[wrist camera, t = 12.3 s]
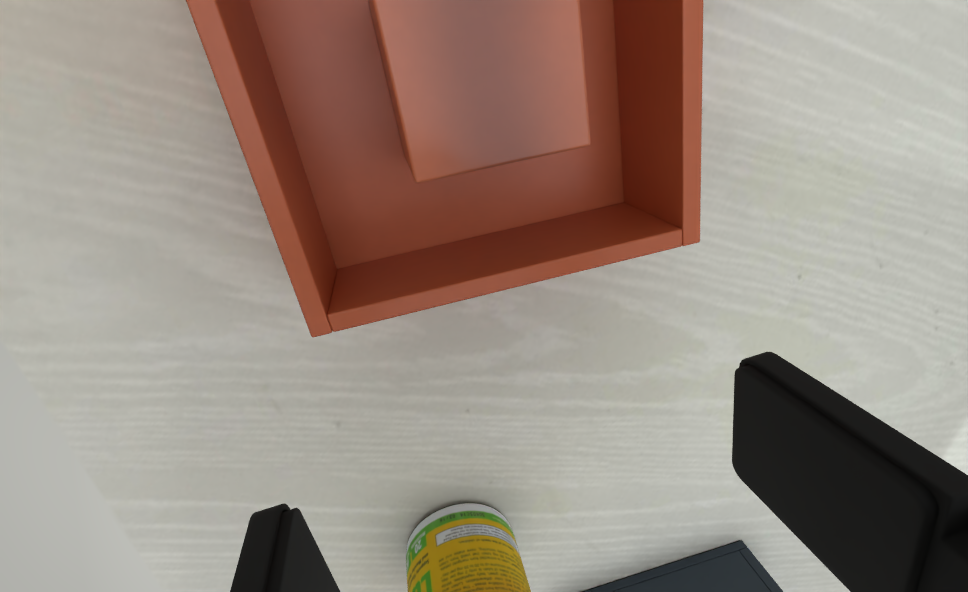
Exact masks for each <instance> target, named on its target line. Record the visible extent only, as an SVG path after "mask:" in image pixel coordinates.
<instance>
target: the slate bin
mask: <svg viewBox="0 0 968 592" xmlns="http://www.w3.org/2000/svg"><path fill="white" fill-rule="evenodd" d="M584 592H783V591H782V589H781V588H780V587H779V586H778V585H777V583H776V582H775V581H774V580H773V578H772V577H771V576H770V575H769V573H768V572H767V571H766V570H765V569H764V567H763V566H762V565H761V564H760V562H759V561H758V560H757V559H756V557H755V556H754V555H753V554H752V552H751V551H750V550H749V549H748V548H747V546H746V545H745V544H744V542H743V541H742V540H741V541H738V542H735V543H732V544H729V545H726V546H723V547H720V548H717V549H713V550H710V551H707V552H704V553H701V554H698V555H695V556H692V557H689V558H686V559H683V560H680V561H677V562H673V563H670V564H667V565H664V566H661V567H658V568H655V569H652V570H649V571H646V572H643V573H640V574H637V575H633V576H630V577H627V578H624V579H621V580H618V581H615V582H612V583H609V584H606V585H603V586H600V587H597V588H593V589H590V590H587V591H584Z"/></svg>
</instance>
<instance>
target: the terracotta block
mask: <svg viewBox="0 0 968 592" xmlns="http://www.w3.org/2000/svg"><path fill="white" fill-rule="evenodd" d="M368 5H369V9H370V14H371V18H372V22H373V26H374V30H375V35H376V39H377V43H378V47H379V52H380V56H381V60H382V64H383V68H384V73H385V77H386V81H387V85H388V89H389V94H390V98H391V102H392V106H393V110H394V115H395V119H396V123H397V127H398V132H399V136H400V140H401V144H402V148H403V153H404V157H405V159H406V161H407V164H408V166H409V169H410V171H411V174H412V176H413V178H414V181H415V182H416V183H421V182H426V181H430V180H435V179H440V178H444V177H449V176H454V175H458V174H463V173H467V172H472V171H477V170H481V169H486V168H491V167H495V166H500V165H504V164H509V163H514V162H518V161H523V160H527V159H532V158H537V157H541V156H546V155H551V154H555V153H560V152H564V151H569V150H574V149H578V148H583V147H587V146H589V145H590V130H589V117H588V104H587V92H586V79H585V66H584V54H583V41H582V28H581V16H580V3H579V0H368Z"/></svg>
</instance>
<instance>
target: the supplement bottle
mask: <svg viewBox="0 0 968 592" xmlns="http://www.w3.org/2000/svg"><path fill="white" fill-rule="evenodd" d="M406 567H407V584H408V592H531V590H530V587H529V584H528V580H527V577H526V574H525V571H524V567H523V564H522V561H521V557H520V554H519V551H518V547H517V544H516V541H515V537H514V535H513V532H512V529H511V527H510V524H509V523H508V521H507V520H506V518H505V517H504V516H503V515H502V514H501V513H499V512H498V511H497V510H495V509H493V508H491V507H489V506H486V505H482V504H475V503H465V504H457V505H453V506H449V507H446V508H443V509H441V510H439V511H436V512H435V513H433V514H431V515H430V516H428V517H427V518H425V519H424V520H423V521H422V522H421V523H420V524H419V525H418V526H417V527H416V528H415V529H414V531H413V532H412V534H411V536H410V538H409V541H408V544H407V549H406Z"/></svg>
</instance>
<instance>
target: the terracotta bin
mask: <svg viewBox="0 0 968 592" xmlns="http://www.w3.org/2000/svg"><path fill="white" fill-rule="evenodd" d="M186 2H187V4H188V7H189V10H190V12H191V15H192V18H193V20H194V23H195V26H196V28H197V31H198V34H199V36H200V39H201V42H202V45H203V47H204V50H205V53H206V55H207V58H208V61H209V63H210V66H211V69H212V71H213V74H214V77H215V79H216V82H217V85H218V87H219V90H220V93H221V95H222V98H223V101H224V103H225V106H226V109H227V111H228V114H229V117H230V120H231V122H232V125H233V128H234V130H235V133H236V136H237V138H238V141H239V144H240V146H241V149H242V152H243V154H244V157H245V160H246V162H247V165H248V168H249V170H250V173H251V176H252V178H253V181H254V184H255V186H256V189H257V192H258V194H259V197H260V200H261V203H262V205H263V208H264V211H265V213H266V216H267V219H268V221H269V224H270V227H271V229H272V232H273V235H274V237H275V240H276V243H277V245H278V248H279V251H280V253H281V256H282V259H283V261H284V264H285V267H286V269H287V272H288V275H289V278H290V280H291V283H292V286H293V288H294V291H295V294H296V296H297V299H298V302H299V304H300V307H301V310H302V312H303V315H304V318H305V320H306V323H307V326H308V328H309V331H310V334H311V336H312V337H316V336H321V335H325V334H329V333H331V332H332V330H333V332H336V331H340V330H344V329H348V328H352V327H356V326H360V325H364V324H368V323H372V322H376V321H380V320H384V319H388V318H392V317H396V316H401V315H405V314H409V313H413V312H417V311H421V310H425V309H429V308H433V307H437V306H441V305H445V304H449V303H453V302H457V301H461V300H465V299H470V298H474V297H478V296H482V295H486V294H490V293H494V292H498V291H502V290H506V289H510V288H514V287H518V286H522V285H526V284H530V283H534V282H538V281H543V280H547V279H551V278H555V277H559V276H563V275H567V274H571V273H575V272H579V271H583V270H587V269H591V268H595V267H599V266H603V265H607V264H611V263H616V262H620V261H624V260H628V259H632V258H636V257H640V256H644V255H648V254H652V253H656V252H660V251H664V250H668V249H672V248H676V247H680V246H686V245H690V244H694V243H698V242H700V193H701V122H702V50H703V0H579V3H580V16H581V28H582V41H583V54H584V66H585V79H586V92H587V104H588V117H589V130H590V145H589V146H587V147H583V148H578V149H574V150H569V151H564V152H560V153H555V154H551V155H546V156H541V157H537V158H532V159H527V160H523V161H518V162H514V163H509V164H504V165H500V166H495V167H491V168H486V169H481V170H477V171H472V172H467V173H463V174H458V175H454V176H449V177H444V178H440V179H435V180H430V181H426V182H421V183H416V182H415V181H414V178H413V176H412V174H411V171H410V169H409V166H408V164H407V161H406V159H405V157H404V153H403V148H402V144H401V140H400V136H399V132H398V127H397V123H396V119H395V115H394V110H393V106H392V102H391V98H390V94H389V89H388V85H387V81H386V77H385V73H384V68H383V64H382V60H381V56H380V52H379V47H378V43H377V39H376V35H375V30H374V26H373V22H372V18H371V14H370V9H369V5H368V0H186Z"/></svg>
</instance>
